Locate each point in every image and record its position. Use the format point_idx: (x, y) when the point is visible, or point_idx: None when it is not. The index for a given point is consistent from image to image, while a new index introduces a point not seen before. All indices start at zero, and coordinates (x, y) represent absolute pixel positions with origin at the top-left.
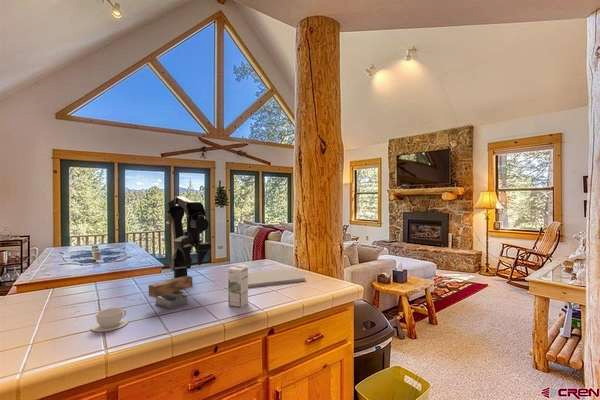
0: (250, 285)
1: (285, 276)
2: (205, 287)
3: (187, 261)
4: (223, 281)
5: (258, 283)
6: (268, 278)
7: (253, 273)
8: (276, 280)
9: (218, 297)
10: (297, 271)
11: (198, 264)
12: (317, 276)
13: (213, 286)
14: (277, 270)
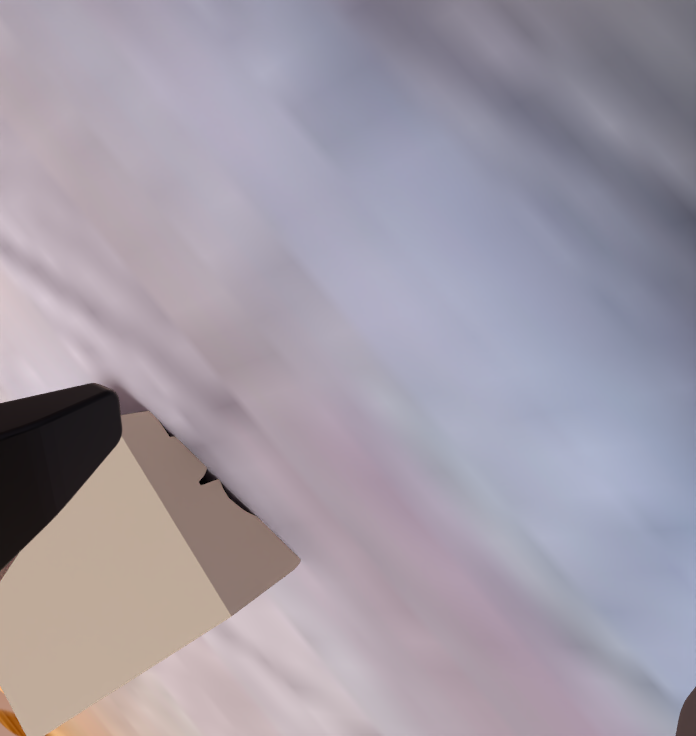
0: None
1: (16, 634)
2: (438, 381)
3: (692, 709)
4: (414, 605)
5: None
6: (48, 591)
7: (135, 658)
8: (15, 572)
9: (54, 113)
10: (15, 704)
11: (73, 389)
12: None
13: (379, 435)
14: (72, 715)
